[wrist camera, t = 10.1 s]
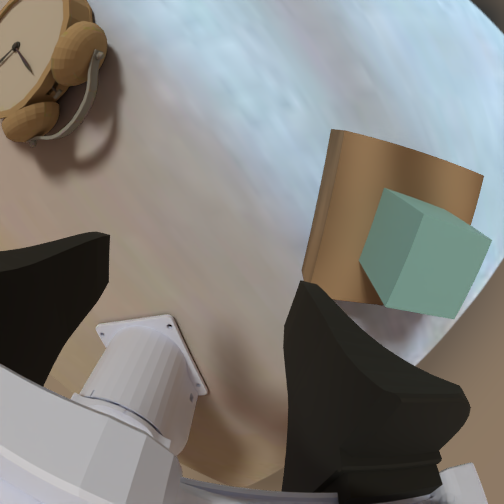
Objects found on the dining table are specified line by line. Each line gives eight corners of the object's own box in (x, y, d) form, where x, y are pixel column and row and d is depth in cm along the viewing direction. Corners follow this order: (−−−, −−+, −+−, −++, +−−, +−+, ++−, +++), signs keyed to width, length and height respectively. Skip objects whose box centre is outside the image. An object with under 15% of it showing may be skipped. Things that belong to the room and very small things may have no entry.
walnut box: (453, 165, 19) (483, 175, 15) (417, 284, 23) (437, 310, 19) (329, 128, 19) (344, 130, 15) (301, 267, 23) (307, 295, 19)
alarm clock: (38, -39, 10) (110, 41, 12) (72, -20, 15) (152, 64, 16) (-37, 69, 13) (7, 186, 15) (-1, 73, 18) (54, 179, 20)
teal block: (445, 209, 16) (491, 240, 12) (419, 275, 18) (454, 319, 13) (384, 187, 16) (423, 214, 11) (358, 260, 18) (385, 306, 13)
